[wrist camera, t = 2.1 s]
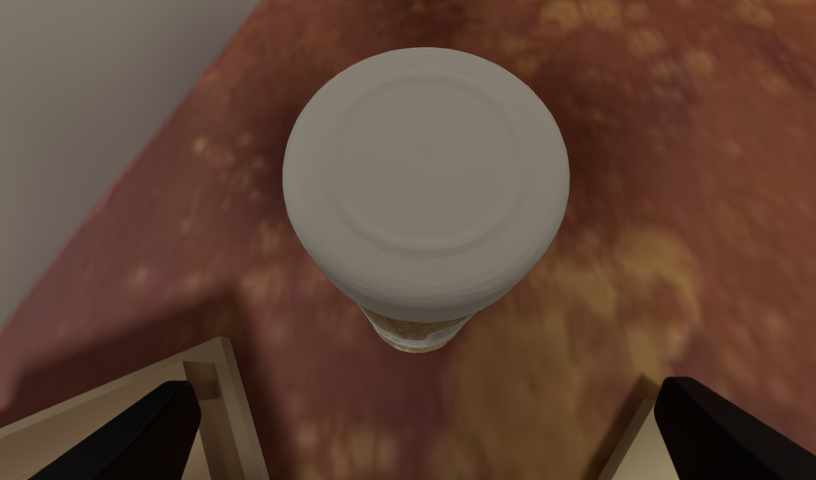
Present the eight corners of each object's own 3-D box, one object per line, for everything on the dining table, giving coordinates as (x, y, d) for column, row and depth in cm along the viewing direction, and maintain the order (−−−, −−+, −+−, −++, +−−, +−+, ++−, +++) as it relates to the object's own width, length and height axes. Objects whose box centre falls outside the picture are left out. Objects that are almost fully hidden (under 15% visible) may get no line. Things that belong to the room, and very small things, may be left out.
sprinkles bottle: (349, 294, 19) (218, 126, 6) (427, 238, 20) (450, -8, 7) (407, 377, 18) (391, 379, 5) (487, 314, 19) (646, 181, 6)
